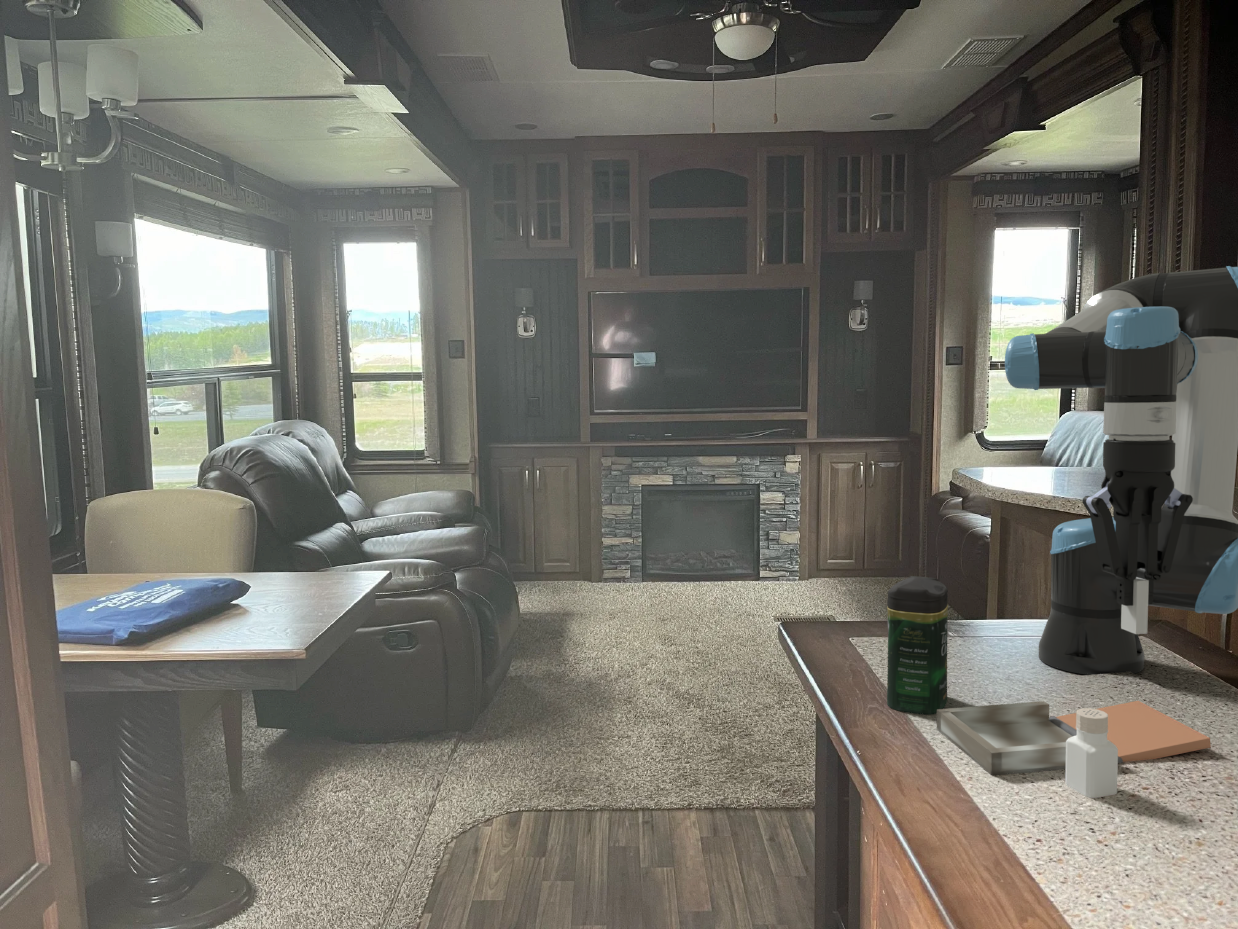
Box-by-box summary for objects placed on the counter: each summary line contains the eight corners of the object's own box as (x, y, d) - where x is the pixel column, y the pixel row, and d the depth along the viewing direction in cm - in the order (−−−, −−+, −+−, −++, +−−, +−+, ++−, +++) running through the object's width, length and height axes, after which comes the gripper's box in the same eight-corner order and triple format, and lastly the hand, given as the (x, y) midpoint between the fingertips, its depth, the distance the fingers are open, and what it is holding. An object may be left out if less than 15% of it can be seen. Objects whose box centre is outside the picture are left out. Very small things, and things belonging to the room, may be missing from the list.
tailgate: (1048, 727, 121) (1137, 709, 122) (1112, 769, 108) (1212, 749, 109) (1047, 717, 121) (1136, 699, 122) (1111, 758, 108) (1211, 737, 109)
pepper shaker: (1089, 805, 99) (1091, 722, 99) (1062, 790, 103) (1063, 709, 102) (1119, 800, 101) (1121, 717, 100) (1091, 784, 104) (1093, 704, 103)
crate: (1043, 726, 121) (1044, 701, 121) (1111, 771, 108) (1112, 742, 107) (936, 735, 120) (936, 709, 119) (991, 782, 106) (991, 753, 106)
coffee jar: (940, 723, 124) (940, 589, 122) (881, 714, 128) (880, 584, 126) (953, 700, 132) (953, 574, 130) (897, 692, 136) (896, 570, 134)
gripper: (1108, 441, 104) (1103, 642, 106) (1212, 437, 106) (1206, 636, 108) (1069, 437, 112) (1065, 625, 114) (1166, 434, 113) (1161, 620, 115)
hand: (1134, 630), depth 111 cm, fingers closed
